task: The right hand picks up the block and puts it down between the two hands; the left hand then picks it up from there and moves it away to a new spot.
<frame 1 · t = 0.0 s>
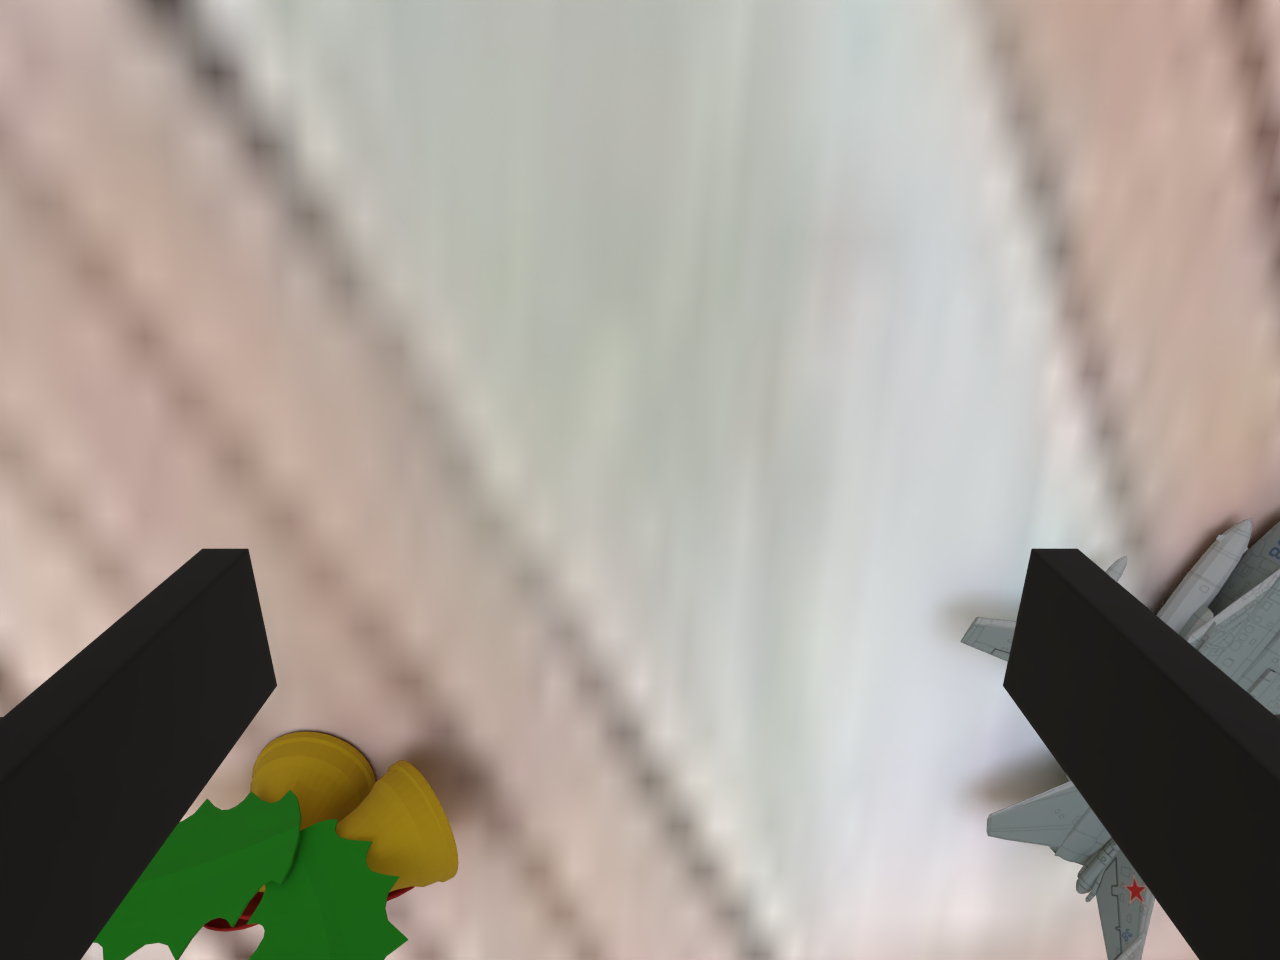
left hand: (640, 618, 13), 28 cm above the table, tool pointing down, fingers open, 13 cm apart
airplane: (1207, 610, 45), on the table
ornament: (315, 781, 50), on the table
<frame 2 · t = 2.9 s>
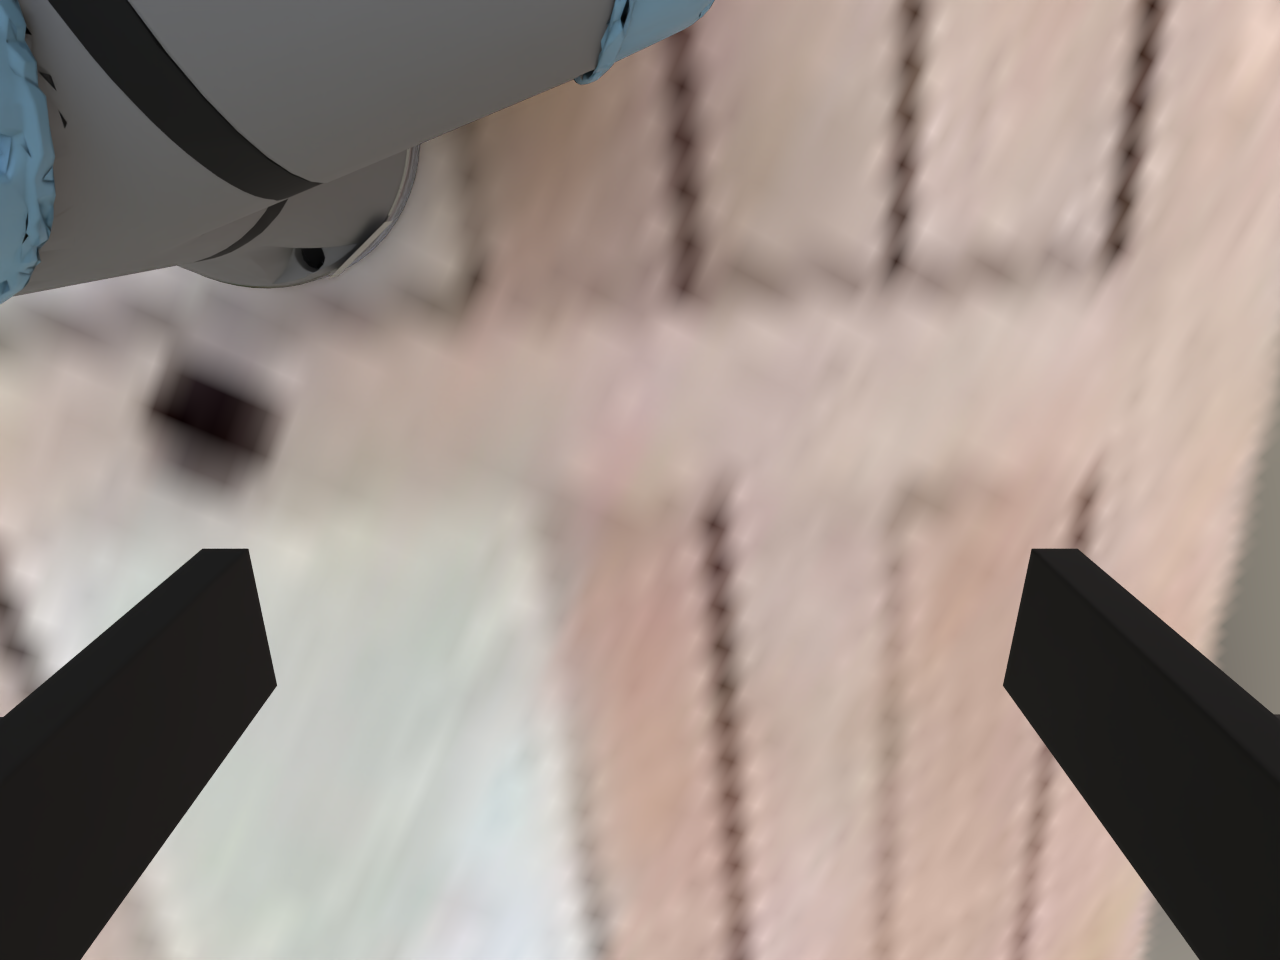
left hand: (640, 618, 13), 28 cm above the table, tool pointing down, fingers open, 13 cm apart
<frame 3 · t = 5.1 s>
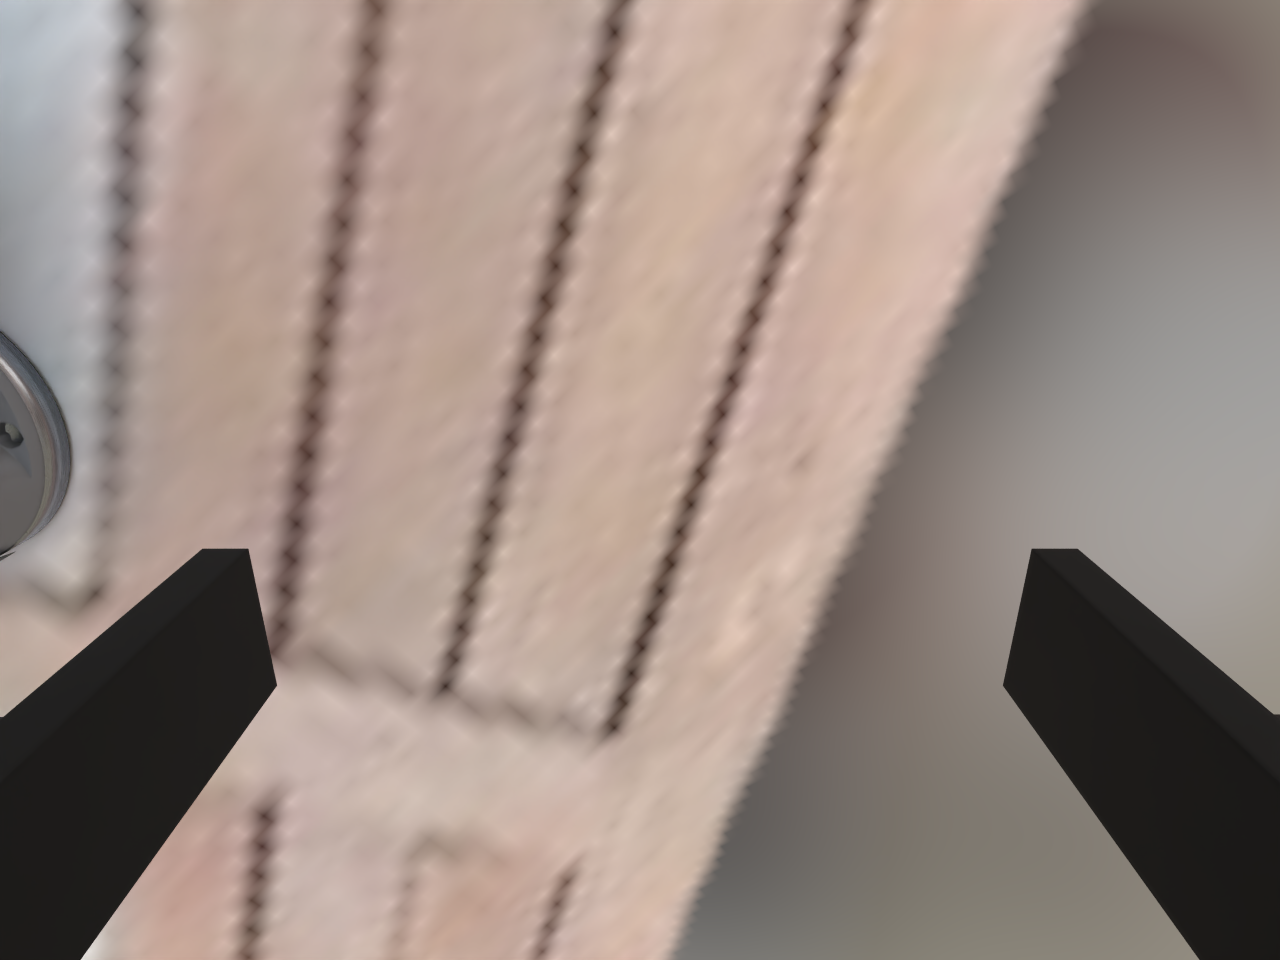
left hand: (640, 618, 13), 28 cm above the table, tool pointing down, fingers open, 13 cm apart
when the right hand's fingers open (5 cm above the table, at t = 7.5 s): block drops 2 cm, on the table.
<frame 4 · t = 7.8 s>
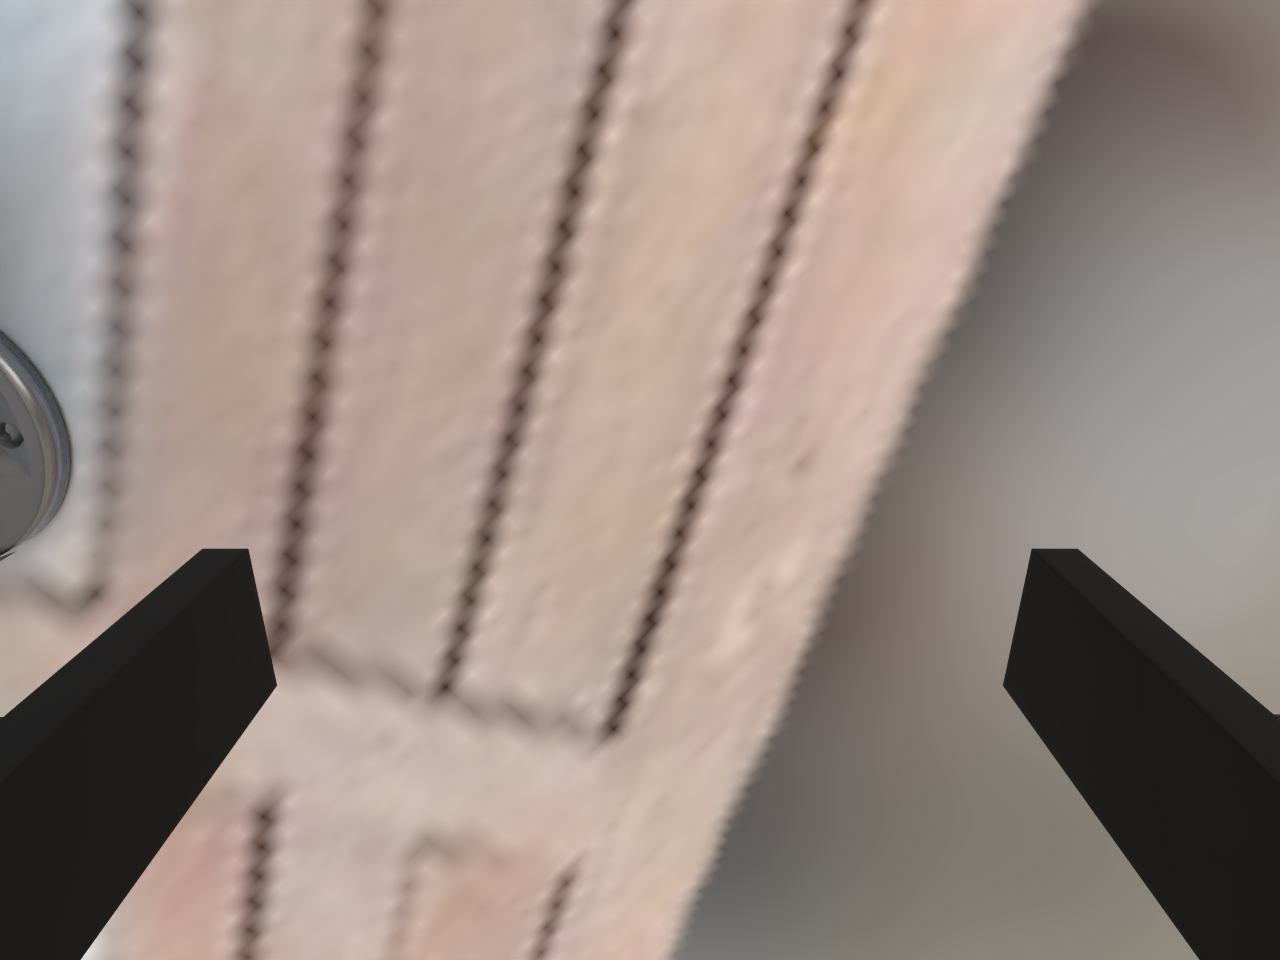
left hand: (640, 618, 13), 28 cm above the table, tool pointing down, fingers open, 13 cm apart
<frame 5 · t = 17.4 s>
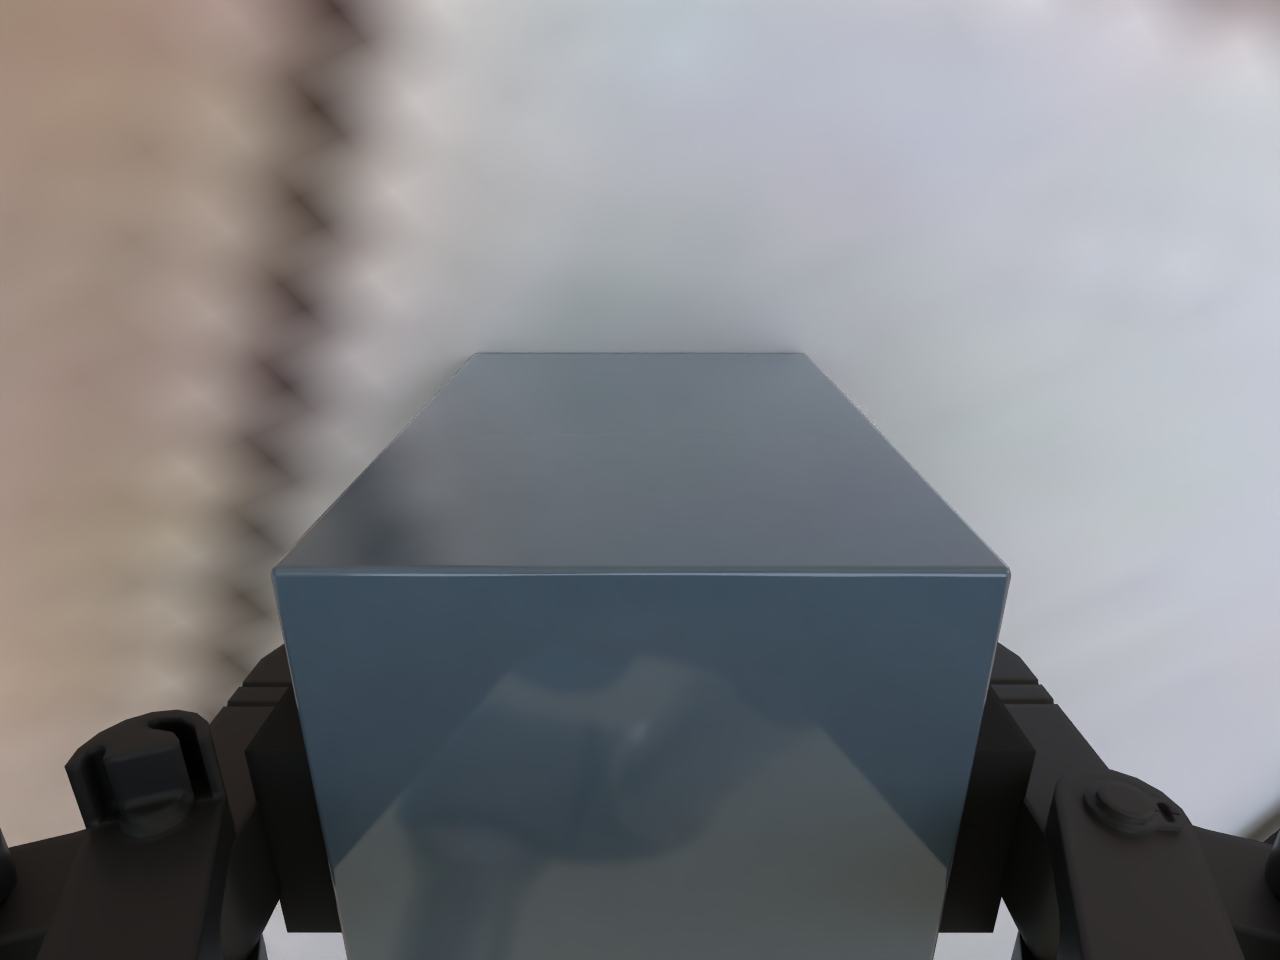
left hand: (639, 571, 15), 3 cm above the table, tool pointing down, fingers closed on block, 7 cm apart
block: (639, 512, 17), on the table, touching left hand
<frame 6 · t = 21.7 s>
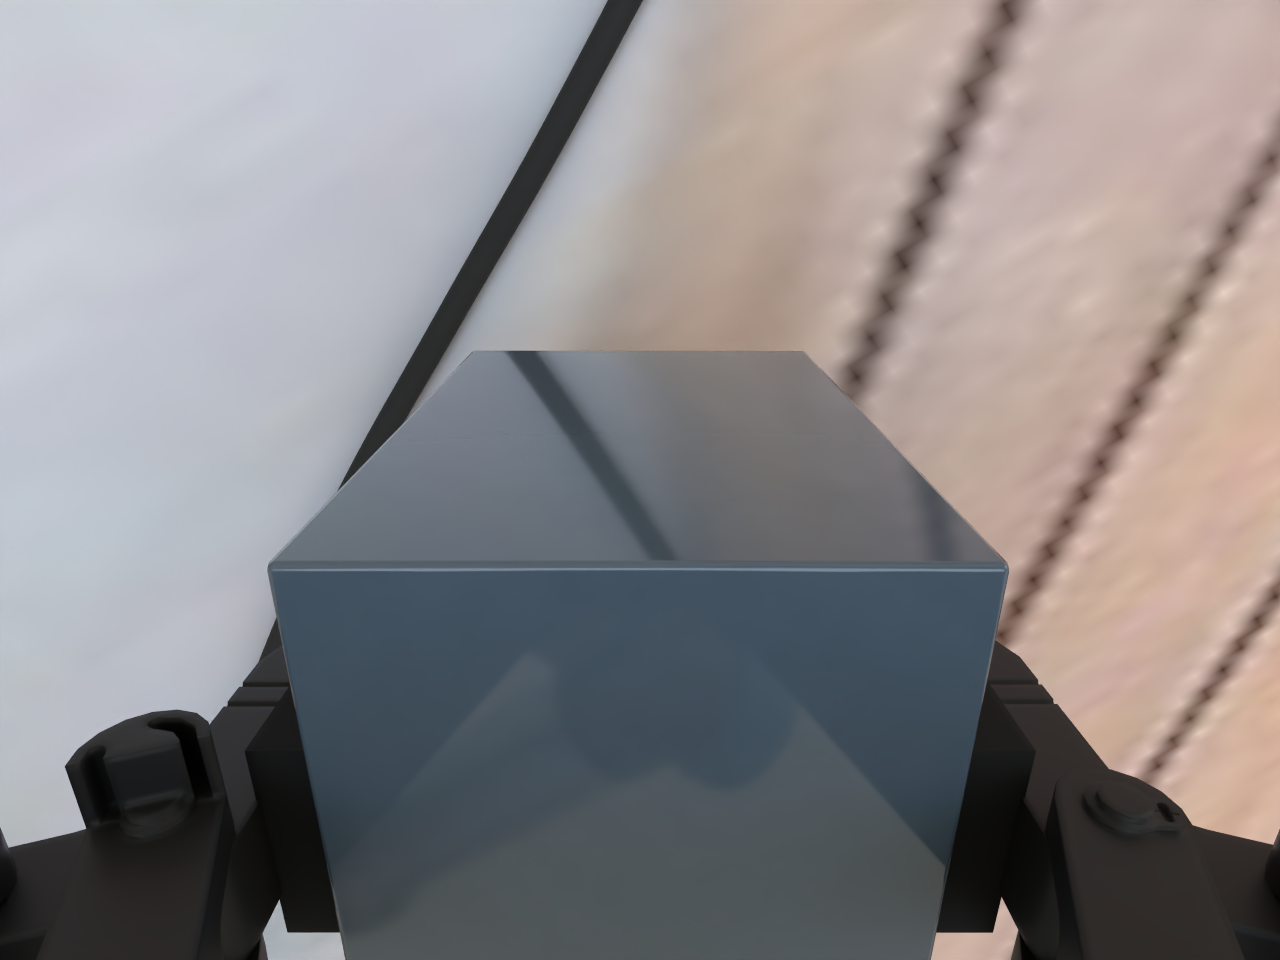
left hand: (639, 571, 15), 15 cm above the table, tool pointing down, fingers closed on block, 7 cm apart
block: (638, 510, 17), point 12 cm above the table, touching left hand
when the left hand's fingers open (5 cm above the table, at t = 26.2 s): block drops 2 cm, on the table.
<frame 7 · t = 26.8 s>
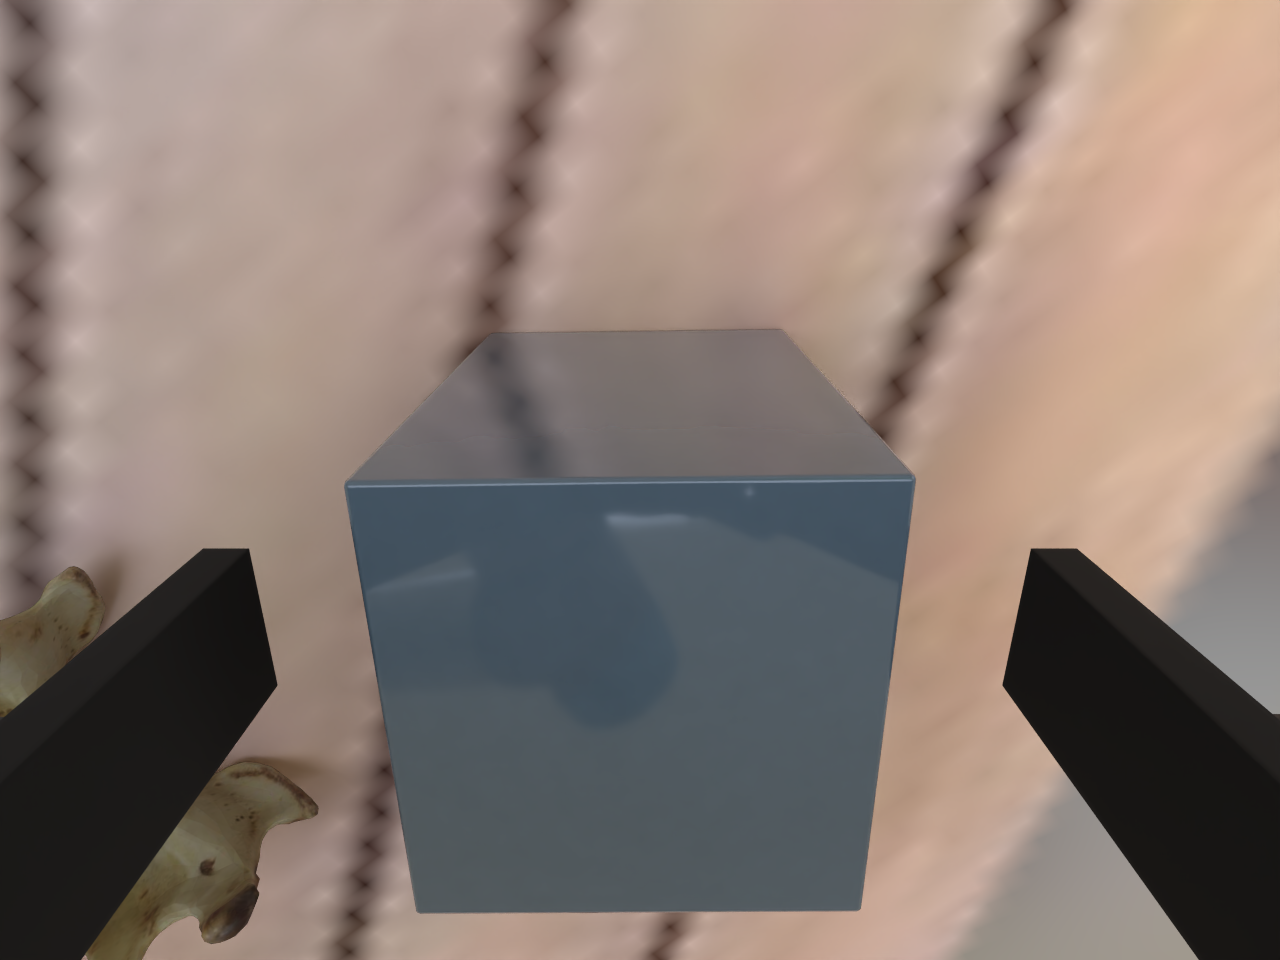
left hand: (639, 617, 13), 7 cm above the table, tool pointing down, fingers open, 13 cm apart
block: (638, 474, 19), on the table
jawbone: (77, 758, 23), on the table
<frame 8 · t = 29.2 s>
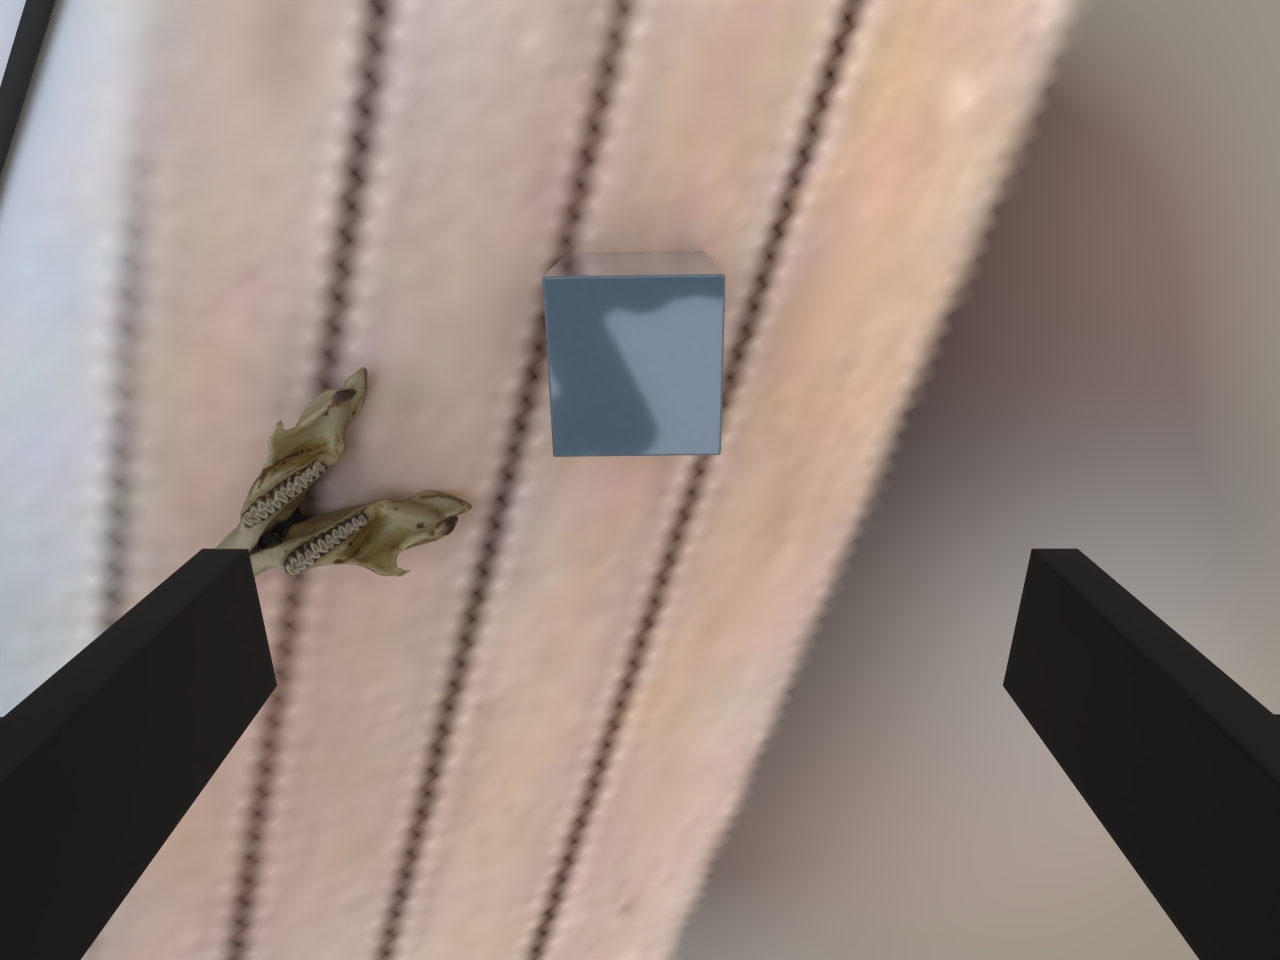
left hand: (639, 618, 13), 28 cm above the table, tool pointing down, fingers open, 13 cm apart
block: (636, 326, 39), on the table
jawbone: (335, 491, 42), on the table
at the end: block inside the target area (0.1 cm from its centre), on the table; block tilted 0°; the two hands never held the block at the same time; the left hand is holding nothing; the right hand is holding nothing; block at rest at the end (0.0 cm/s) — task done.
